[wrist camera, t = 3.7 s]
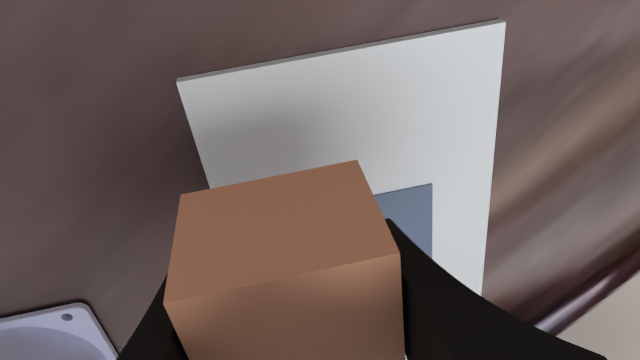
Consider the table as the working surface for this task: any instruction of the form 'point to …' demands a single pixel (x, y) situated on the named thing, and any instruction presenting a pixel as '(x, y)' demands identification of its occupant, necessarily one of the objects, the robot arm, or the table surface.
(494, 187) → the table surface
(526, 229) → the table surface
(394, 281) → the terracotta block
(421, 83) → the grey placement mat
